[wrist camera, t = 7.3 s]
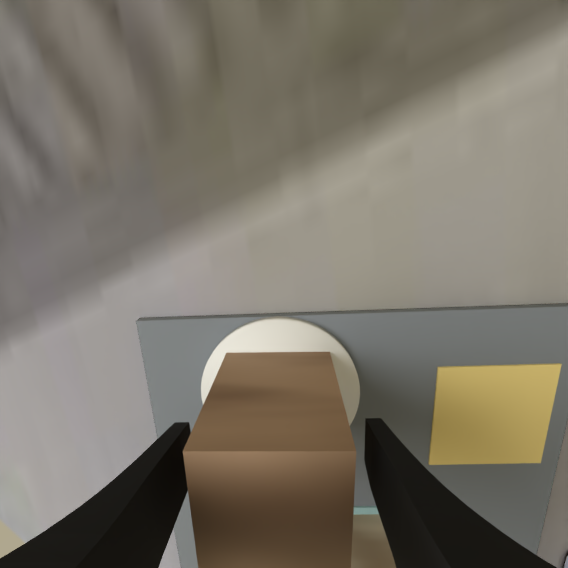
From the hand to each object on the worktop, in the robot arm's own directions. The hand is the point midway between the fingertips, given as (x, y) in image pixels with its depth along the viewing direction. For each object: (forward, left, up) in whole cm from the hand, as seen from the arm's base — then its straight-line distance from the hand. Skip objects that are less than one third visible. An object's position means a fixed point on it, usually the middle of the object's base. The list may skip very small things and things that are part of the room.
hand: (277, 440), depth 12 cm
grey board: (-4, +5, -4) cm, 8 cm away
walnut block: (0, 0, -3) cm, 3 cm away
